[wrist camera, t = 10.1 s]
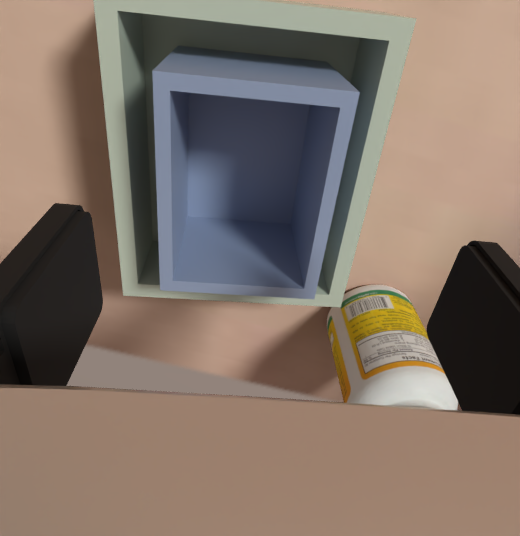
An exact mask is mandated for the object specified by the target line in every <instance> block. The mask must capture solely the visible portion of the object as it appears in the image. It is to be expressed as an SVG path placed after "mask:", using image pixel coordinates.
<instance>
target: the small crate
mask: <svg viewBox="0 0 520 536" xmlns="http://www.w3.org/2000/svg"><path fill="white" fill-rule="evenodd" d="M152 75H153V104H154V132H155V160H156V188H157V216H158V244H159V273H160V290H163V291H180V292H197V293H214V294H231V295H247V296H264V297H281V298H298V299H315V294H316V290H317V285H318V281H319V276H320V272H321V267H322V262H323V258H324V253H325V249H326V244H327V240H328V235H329V231H330V226H331V221H332V217H333V212H334V208H335V203H336V199H337V194H338V190H339V185H340V181H341V176H342V171H343V167H344V162H345V158H346V153H347V149H348V144H349V140H350V135H351V131H352V126H353V121H354V117H355V112H356V108H357V103H358V99H359V94H360V92H359V91H358V90H357V89H356V88H355V87H354V86H353V85H352V84H351V83H349V82H348V81H347V80H346V79H345V78H344V77H343V76H342V75H341V74H340V73H339V72H337V71H336V70H335V69H334V68H333V67H332V66H331V65H330V64H329V63H328V62H324V61H315V60H306V59H297V58H288V57H278V56H269V55H260V54H251V53H242V52H233V51H223V50H214V49H205V48H196V47H187V46H177V47H176V48H175V49H174V50H173V51H172V52H171V53H170V54H169V55H168V56H167V57H166V58H165V59H164V60H163V61H162V62H161V63H160V64H159V65H158V66H157V67H156V68H155V69H154V70H153V71H152Z"/></svg>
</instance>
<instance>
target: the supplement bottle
mask: <svg viewBox="0 0 520 536" xmlns="http://www.w3.org/2000/svg"><path fill="white" fill-rule="evenodd" d="M327 331H328V336H329V340H330V344H331V349H332V353H333V357H334V361H335V366H336V370H337V374H338V379H339V383H340V387H341V391H342V395H343V400H344V403H358V404H373V405H388V406H403V407H417V408H431V409H445V410H457V407H458V400H457V398H456V396H455V394H454V392H453V390H452V387H451V385H450V383H449V381H448V379H447V377H446V375H445V373H444V370H443V368H442V366H441V364H440V362H439V360H438V358H437V356H436V353H435V351H434V349H433V347H432V345H431V343H430V341H429V339H428V336H427V332H426V330H425V328H424V326H423V324H422V323H421V321H420V319H419V317H418V315H417V313H416V311H415V309H414V307H413V305H412V303H411V302H410V300H409V299H408V297H407V296H406V295H405V294H404V293H402V292H401V291H399V290H397V289H395V288H392V287H389V286H386V285H366V286H361V287H358V288H355V289H353V290H351V291H349V292H347V293H345V294H344V297H343V301H342V304H341V307H332V308H331V309H330V312H329V314H328V317H327Z"/></svg>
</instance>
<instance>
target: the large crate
mask: <svg viewBox="0 0 520 536" xmlns="http://www.w3.org/2000/svg"><path fill="white" fill-rule="evenodd" d="M93 1H94V11H95V21H96V31H97V40H98V50H99V60H100V70H101V80H102V90H103V100H104V110H105V120H106V130H107V140H108V150H109V160H110V169H111V179H112V189H113V199H114V209H115V219H116V229H117V239H118V249H119V259H120V269H121V279H122V289H123V296H139V297H158V298H176V299H194V300H213V301H231V302H250V303H268V304H287V305H305V306H324V307H341V304H342V301H343V297H344V293H345V289H346V285H347V281H348V278H349V274H350V270H351V266H352V262H353V259H354V255H355V251H356V247H357V243H358V239H359V236H360V232H361V228H362V224H363V220H364V217H365V213H366V209H367V205H368V201H369V197H370V194H371V190H372V186H373V182H374V178H375V175H376V171H377V167H378V163H379V159H380V155H381V152H382V148H383V144H384V140H385V136H386V133H387V129H388V125H389V121H390V117H391V113H392V110H393V106H394V102H395V98H396V94H397V91H398V87H399V83H400V79H401V75H402V71H403V68H404V64H405V60H406V56H407V52H408V49H409V45H410V41H411V37H412V33H413V29H414V26H415V22H416V19H415V18H410V17H405V16H400V15H395V14H390V13H385V12H379V11H370V10H362V9H353V8H344V7H336V6H327V5H319V4H310V3H301V2H293V1H284V0H93ZM177 46H187V47H196V48H205V49H214V50H223V51H233V52H242V53H251V54H260V55H269V56H278V57H288V58H297V59H306V60H315V61H324V62H328V63H329V64H330V65H331V66H332V67H333V68H334V69H335V70H336V71H337V72H339V73H340V74H341V75H342V76H343V77H344V78H345V79H346V80H347V81H348V82H349V83H351V84H352V85H353V86H354V87H355V88H356V89H357V90H358V91H359V92H360V94H359V99H358V103H357V108H356V112H355V117H354V121H353V126H352V131H351V135H350V140H349V144H348V149H347V153H346V158H345V162H344V167H343V171H342V176H341V181H340V185H339V190H338V194H337V199H336V203H335V208H334V212H333V217H332V221H331V226H330V231H329V235H328V240H327V244H326V249H325V253H324V258H323V262H322V267H321V272H320V276H319V281H318V285H317V290H316V294H315V299H298V298H281V297H264V296H247V295H231V294H214V293H197V292H180V291H163V290H160V273H159V244H158V216H157V188H156V160H155V132H154V104H153V75H152V71H153V70H154V69H155V68H156V67H157V66H158V65H159V64H160V63H161V62H162V61H163V60H164V59H165V58H166V57H167V56H168V55H169V54H170V53H171V52H172V51H173V50H174V49H175V48H176V47H177Z"/></svg>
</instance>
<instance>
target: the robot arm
mask: <svg viewBox="0 0 520 536" xmlns="http://www.w3.org/2000/svg"><path fill="white" fill-rule="evenodd" d="M102 304H103V298H102V290H101V283H100V276H99V268H98V261H97V254H96V247H95V239H94V232H93V225H92V218H91V215H90V213H89V212H84V210H83V208H82V207H81V206H80V205H70V204H59V203H55V204H54V205H53V206H52V207H51V208H50V209H49V210H48V211H47V212H46V213H45V215H44V216H43V217H42V218H41V219H40V220H39V221H38V222H37V224H36V225H35V226H34V227H33V228H32V229H31V230H30V231H29V232H28V234H27V235H26V236H25V237H24V238H23V239H22V240H21V241H20V242H19V244H18V245H17V246H16V247H15V248H14V249H13V250H12V251H11V252H10V254H9V255H8V256H7V257H6V258H5V259H4V260H3V261H2V262H1V264H0V536H520V268H519V267H518V265H517V264H516V263H515V262H514V261H513V260H512V259H511V258H510V257H509V255H508V254H507V253H506V252H505V251H504V250H503V249H502V248H501V246H500V245H499V244H497V243H493V242H482V241H471V242H470V243H469V244H468V245H467V246H463V247H462V248H461V249H460V251H459V253H458V255H457V258H456V260H455V262H454V265H453V267H452V269H451V271H450V274H449V276H448V278H447V281H446V283H445V285H444V287H443V290H442V292H441V294H440V297H439V299H438V301H437V303H436V306H435V308H434V310H433V313H432V315H431V317H430V319H429V322H428V325H427V336H428V339H429V341H430V343H431V345H432V347H433V349H434V351H435V353H436V356H437V358H438V360H439V362H440V364H441V366H442V368H443V370H444V373H445V375H446V377H447V379H448V381H449V383H450V385H451V387H452V390H453V392H454V394H455V396H456V398H457V400H458V402H459V404H460V407H461V409H462V411H460V410H445V409H431V408H417V407H403V406H388V405H373V404H358V403H343V402H327V401H312V400H296V399H280V398H263V397H249V396H232V395H215V394H197V393H180V392H164V391H163V392H162V391H147V390H128V389H112V388H95V387H94V388H93V387H76V386H66V385H67V383H68V381H69V379H70V377H71V374H72V372H73V370H74V368H75V366H76V364H77V362H78V360H79V357H80V355H81V353H82V351H83V349H84V347H85V345H86V343H87V341H88V338H89V336H90V334H91V332H92V330H93V328H94V326H95V324H96V321H97V319H98V317H99V315H100V313H101V310H102Z"/></svg>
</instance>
